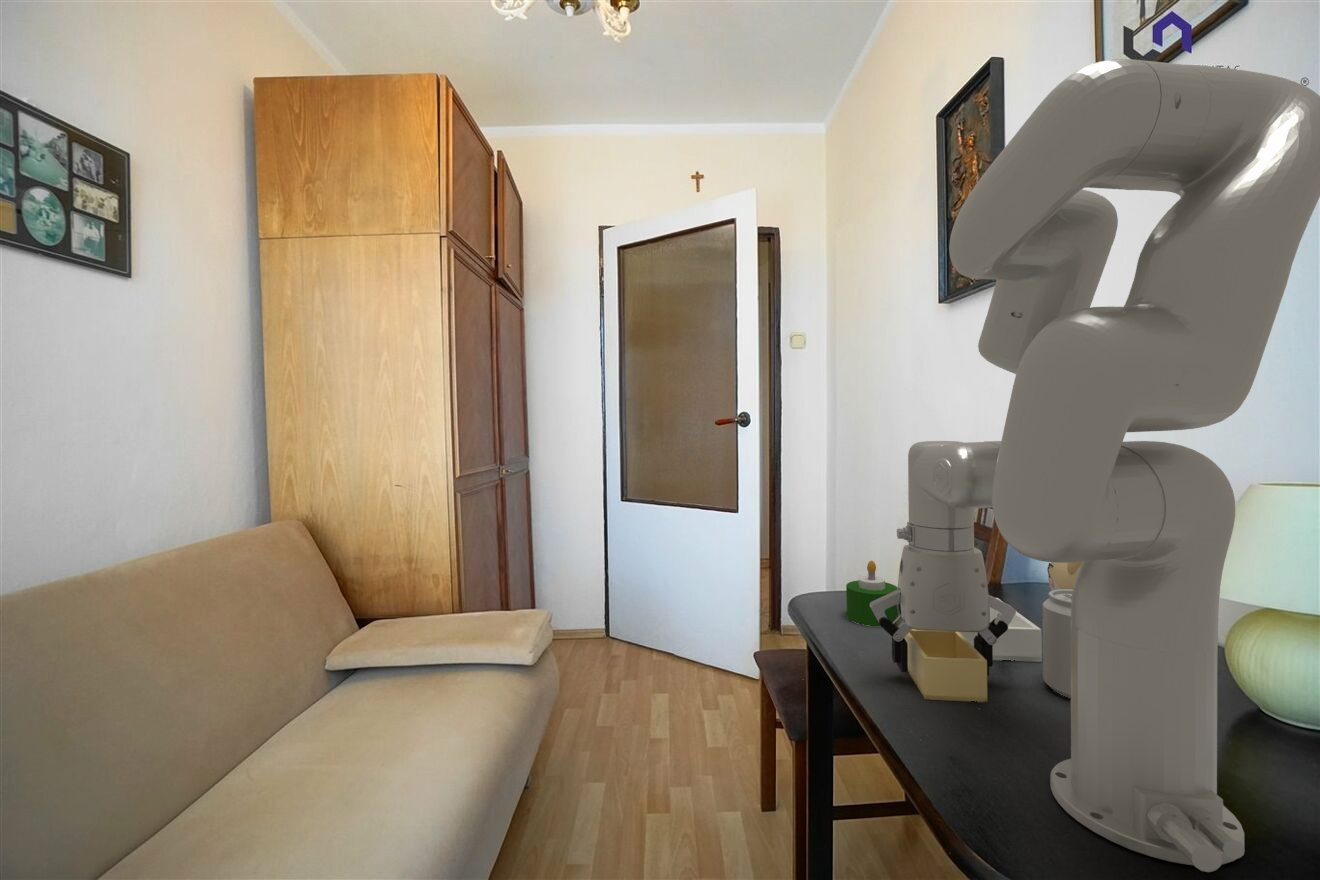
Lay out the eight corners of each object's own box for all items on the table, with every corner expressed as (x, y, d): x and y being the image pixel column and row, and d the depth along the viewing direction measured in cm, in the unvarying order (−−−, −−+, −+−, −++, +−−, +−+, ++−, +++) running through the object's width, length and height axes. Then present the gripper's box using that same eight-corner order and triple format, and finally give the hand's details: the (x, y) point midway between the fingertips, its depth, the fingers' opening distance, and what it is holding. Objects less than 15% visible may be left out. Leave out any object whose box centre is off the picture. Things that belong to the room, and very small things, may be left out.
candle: (837, 619, 99) (836, 561, 99) (861, 607, 104) (861, 552, 104) (883, 631, 93) (883, 569, 92) (907, 618, 98) (906, 560, 98)
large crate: (1041, 661, 80) (1041, 629, 80) (930, 657, 82) (930, 626, 82) (997, 625, 94) (997, 597, 94) (904, 622, 96) (903, 595, 96)
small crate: (987, 702, 69) (987, 660, 69) (924, 699, 70) (924, 658, 70) (957, 666, 79) (957, 630, 79) (903, 664, 80) (903, 629, 80)
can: (1132, 709, 67) (1132, 605, 66) (1060, 704, 68) (1059, 603, 68) (1097, 680, 74) (1097, 587, 74) (1032, 676, 75) (1032, 585, 75)
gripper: (875, 543, 72) (877, 679, 72) (1028, 545, 69) (1027, 686, 69) (864, 531, 79) (865, 655, 80) (1001, 532, 76) (1001, 660, 77)
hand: (941, 669), depth 75 cm, fingers open, 9 cm apart
